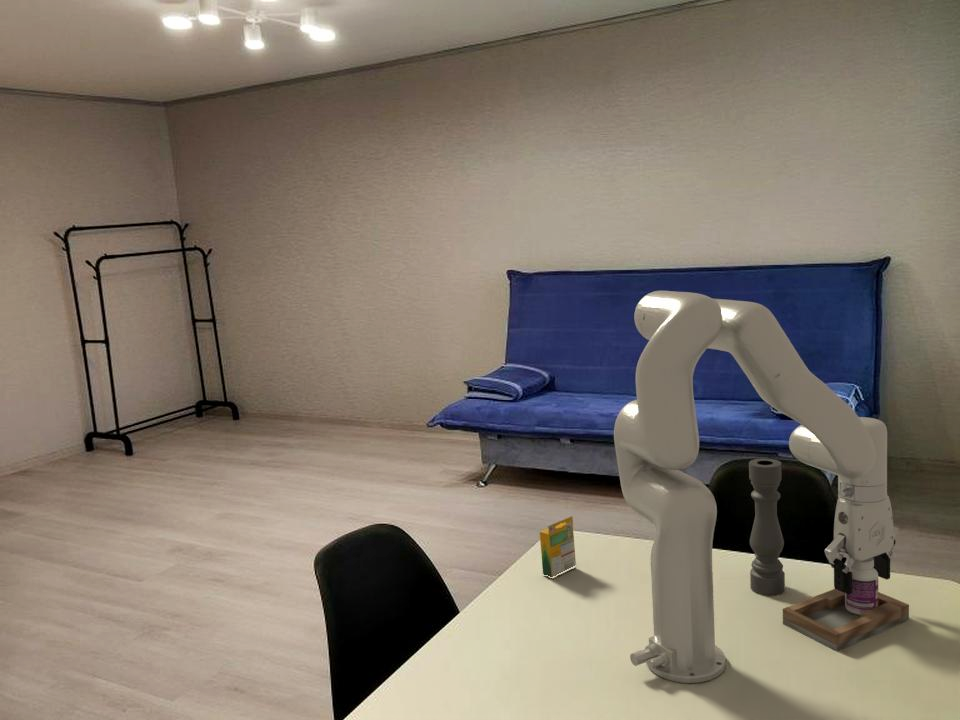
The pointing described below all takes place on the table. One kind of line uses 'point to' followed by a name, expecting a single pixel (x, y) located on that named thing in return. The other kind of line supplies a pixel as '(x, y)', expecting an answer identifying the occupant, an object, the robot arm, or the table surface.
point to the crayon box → (558, 547)
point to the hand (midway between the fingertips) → (862, 583)
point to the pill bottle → (862, 587)
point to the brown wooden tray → (842, 619)
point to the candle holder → (766, 528)
